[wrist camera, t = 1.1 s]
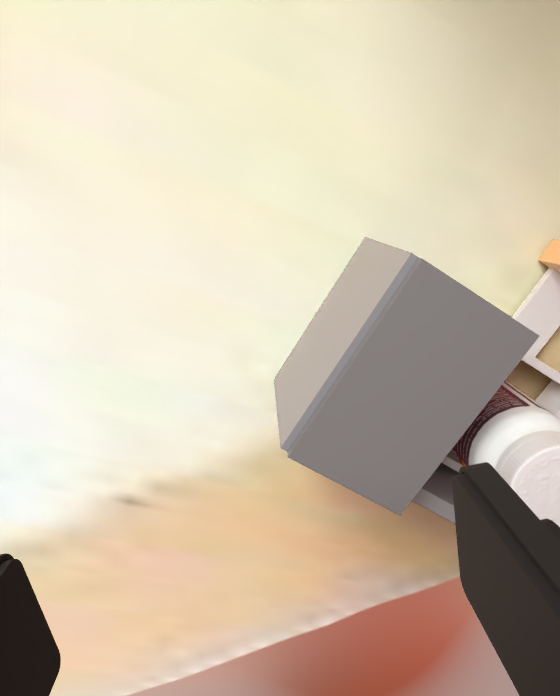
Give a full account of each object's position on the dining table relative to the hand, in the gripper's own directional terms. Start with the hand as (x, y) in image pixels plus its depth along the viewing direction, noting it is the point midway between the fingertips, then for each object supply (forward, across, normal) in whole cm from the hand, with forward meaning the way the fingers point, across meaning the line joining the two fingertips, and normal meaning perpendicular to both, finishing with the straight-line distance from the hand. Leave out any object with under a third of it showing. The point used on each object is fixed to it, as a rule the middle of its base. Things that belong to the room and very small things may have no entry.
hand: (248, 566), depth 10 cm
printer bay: (+24, -12, +7) cm, 28 cm away
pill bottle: (+24, -14, +10) cm, 30 cm away
